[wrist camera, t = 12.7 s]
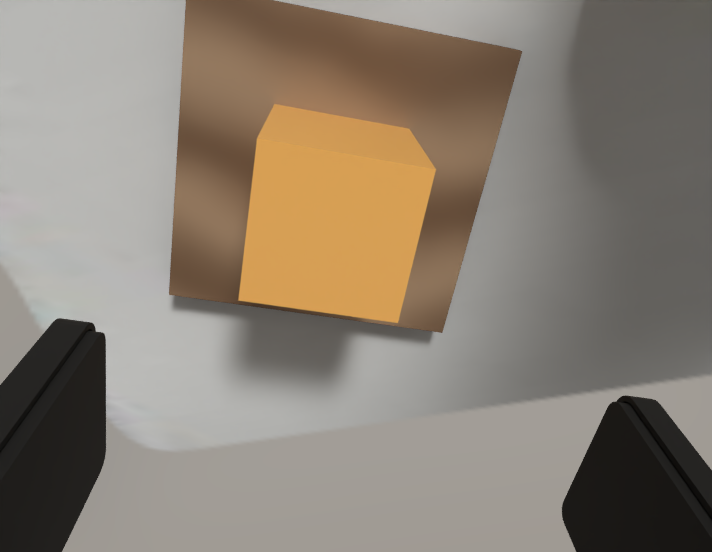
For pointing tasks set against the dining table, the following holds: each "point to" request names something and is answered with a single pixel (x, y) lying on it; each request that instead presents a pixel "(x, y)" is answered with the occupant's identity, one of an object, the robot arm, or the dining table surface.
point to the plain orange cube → (334, 214)
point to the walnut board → (337, 97)
